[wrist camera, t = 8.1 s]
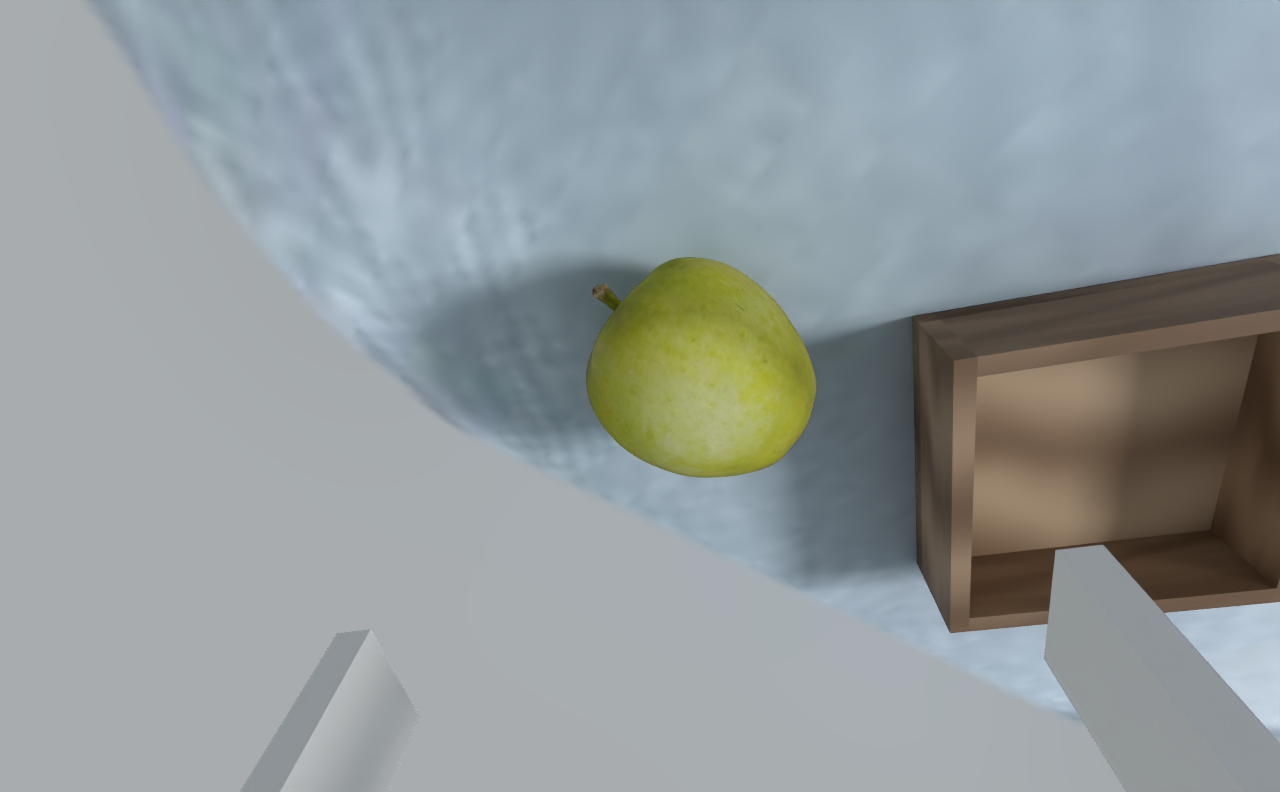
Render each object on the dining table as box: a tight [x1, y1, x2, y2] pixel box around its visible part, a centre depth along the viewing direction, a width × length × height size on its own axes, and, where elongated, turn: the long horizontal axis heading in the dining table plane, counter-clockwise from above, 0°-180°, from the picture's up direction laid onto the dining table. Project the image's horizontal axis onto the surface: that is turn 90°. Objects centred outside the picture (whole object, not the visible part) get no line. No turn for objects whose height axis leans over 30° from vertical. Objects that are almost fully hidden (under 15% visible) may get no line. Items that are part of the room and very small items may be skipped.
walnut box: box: [913, 254, 1280, 633], centre depth 26 cm, size 14×14×4 cm
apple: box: [586, 257, 816, 478], centre depth 23 cm, size 8×9×8 cm
